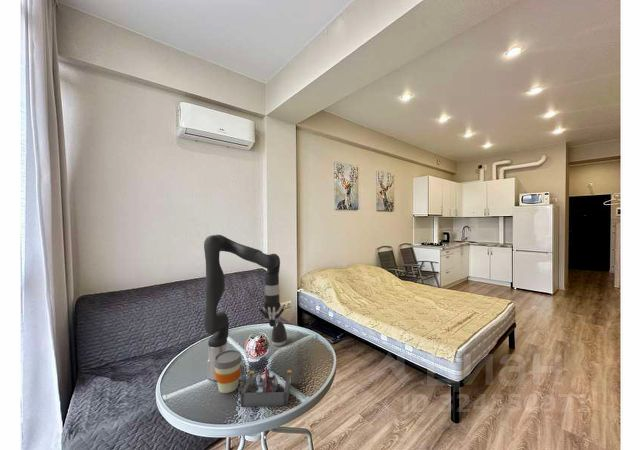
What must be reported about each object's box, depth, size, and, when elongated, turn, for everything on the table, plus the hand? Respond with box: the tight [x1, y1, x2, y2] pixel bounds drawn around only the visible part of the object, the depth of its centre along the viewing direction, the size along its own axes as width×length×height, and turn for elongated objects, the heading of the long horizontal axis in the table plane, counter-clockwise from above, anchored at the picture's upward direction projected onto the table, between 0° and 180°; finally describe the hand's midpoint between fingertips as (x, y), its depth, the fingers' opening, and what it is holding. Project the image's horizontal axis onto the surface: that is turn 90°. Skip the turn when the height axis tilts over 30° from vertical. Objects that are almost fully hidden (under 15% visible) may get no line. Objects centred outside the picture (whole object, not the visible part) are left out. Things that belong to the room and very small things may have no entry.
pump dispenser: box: [270, 320, 288, 347], centre depth 166 cm, size 10×10×15 cm
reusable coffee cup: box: [214, 349, 243, 394], centre depth 123 cm, size 13×12×15 cm
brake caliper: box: [255, 366, 279, 393], centre depth 119 cm, size 11×11×12 cm
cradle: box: [240, 369, 292, 408], centre depth 118 cm, size 20×17×6 cm
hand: (272, 326), depth 132 cm, fingers closed
